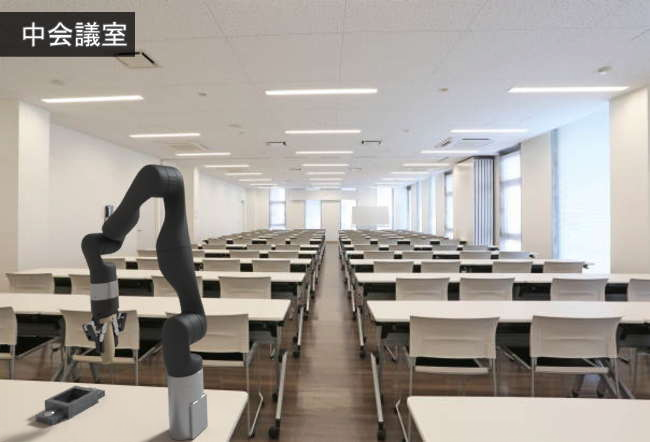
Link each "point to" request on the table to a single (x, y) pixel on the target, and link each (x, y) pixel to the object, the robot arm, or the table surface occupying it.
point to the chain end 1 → (57, 408)
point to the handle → (108, 341)
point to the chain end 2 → (85, 398)
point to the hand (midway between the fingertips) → (107, 349)
